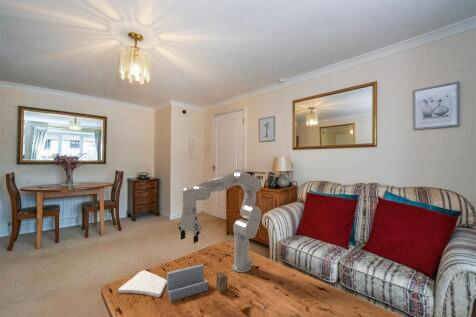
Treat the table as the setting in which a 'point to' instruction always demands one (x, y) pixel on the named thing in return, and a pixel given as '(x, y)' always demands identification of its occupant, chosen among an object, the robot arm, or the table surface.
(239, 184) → the robot arm
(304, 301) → the table surface
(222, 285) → the brown block
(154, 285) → the flat white fragment
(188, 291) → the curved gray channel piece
